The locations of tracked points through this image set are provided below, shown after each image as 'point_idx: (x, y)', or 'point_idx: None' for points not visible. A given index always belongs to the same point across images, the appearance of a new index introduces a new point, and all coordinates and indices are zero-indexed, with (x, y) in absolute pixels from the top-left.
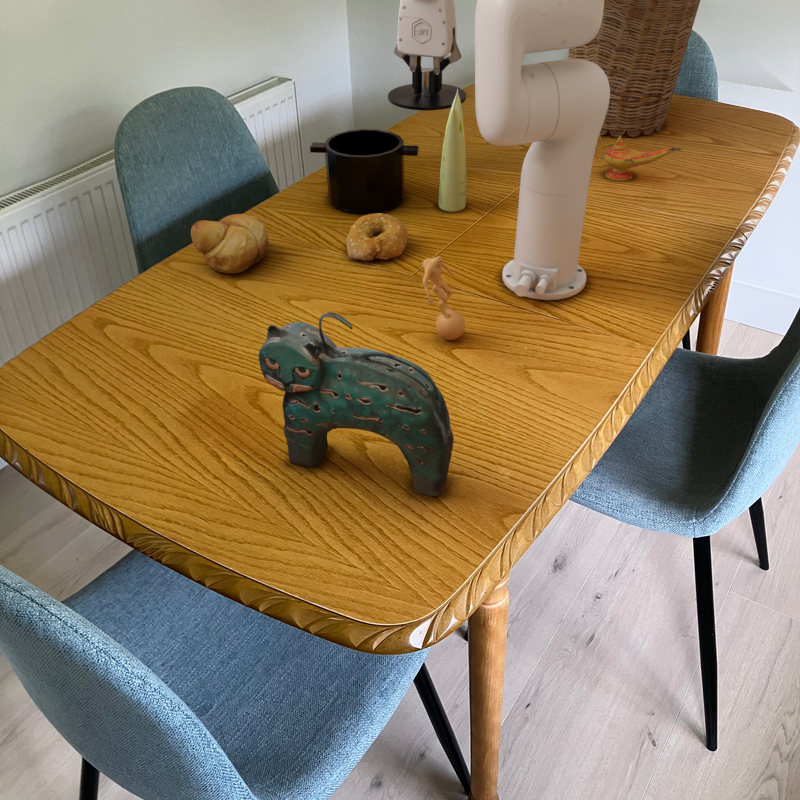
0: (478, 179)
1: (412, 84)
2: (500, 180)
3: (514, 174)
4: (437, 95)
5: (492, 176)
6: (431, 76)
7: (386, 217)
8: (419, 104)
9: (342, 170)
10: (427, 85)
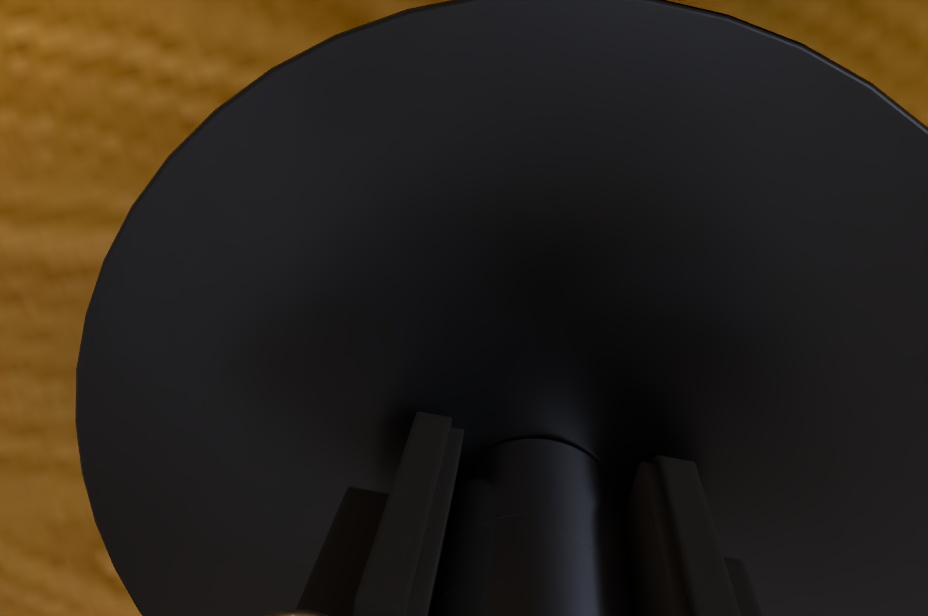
0: (195, 112)
1: (747, 582)
2: (72, 123)
3: (30, 225)
4: None
5: (133, 174)
6: (410, 578)
7: None
8: (554, 108)
9: None
10: (506, 523)
